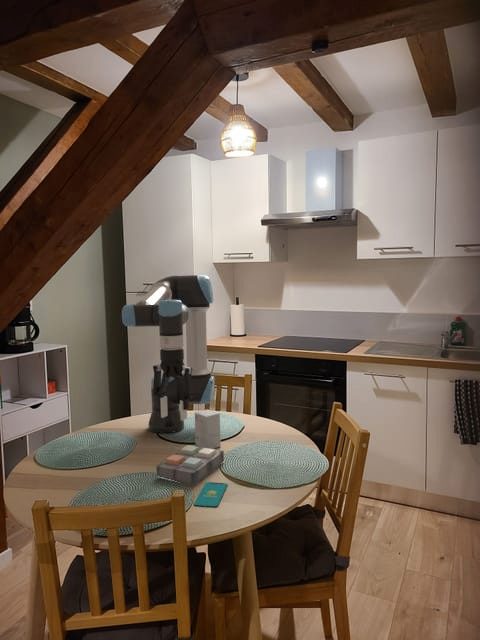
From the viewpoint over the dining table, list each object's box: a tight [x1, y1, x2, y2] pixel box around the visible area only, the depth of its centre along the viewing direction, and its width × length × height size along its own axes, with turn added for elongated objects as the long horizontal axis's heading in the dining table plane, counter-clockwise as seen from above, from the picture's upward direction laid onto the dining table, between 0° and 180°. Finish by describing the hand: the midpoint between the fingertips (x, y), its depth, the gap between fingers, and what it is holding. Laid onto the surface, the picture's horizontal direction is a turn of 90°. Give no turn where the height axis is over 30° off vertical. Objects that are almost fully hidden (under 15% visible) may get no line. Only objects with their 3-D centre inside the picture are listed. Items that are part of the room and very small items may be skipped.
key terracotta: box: [165, 453, 185, 466], centre depth 158 cm, size 4×4×3 cm
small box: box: [194, 408, 222, 449], centre depth 183 cm, size 8×6×13 cm
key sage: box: [180, 444, 199, 456], centre depth 167 cm, size 4×4×3 cm
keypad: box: [156, 446, 225, 487], centre depth 161 cm, size 14×20×4 cm
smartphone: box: [193, 481, 229, 508], centre depth 144 cm, size 7×1×15 cm
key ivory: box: [198, 448, 216, 459], centre depth 164 cm, size 4×4×3 cm
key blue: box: [183, 457, 202, 469], centre depth 156 cm, size 4×4×3 cm
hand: (174, 417), depth 157 cm, fingers open, 7 cm apart
